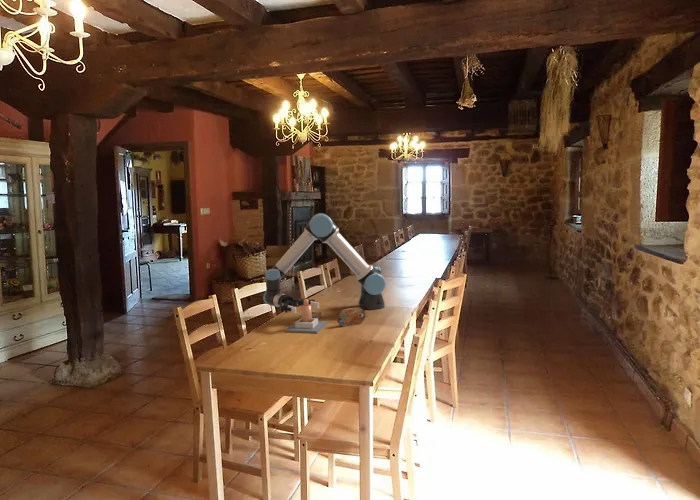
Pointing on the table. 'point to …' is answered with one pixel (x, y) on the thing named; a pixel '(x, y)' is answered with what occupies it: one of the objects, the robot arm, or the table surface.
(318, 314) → the block
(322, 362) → the table surface
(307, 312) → the bottle
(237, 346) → the table surface
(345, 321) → the tin
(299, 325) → the holder
